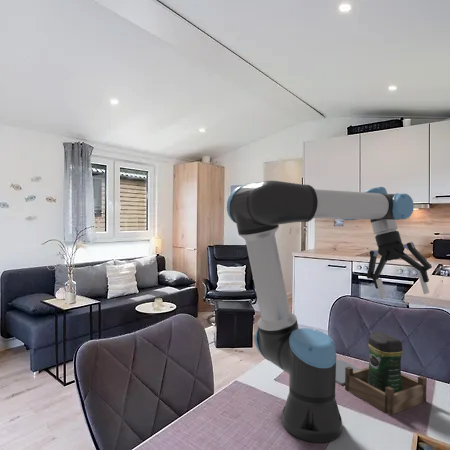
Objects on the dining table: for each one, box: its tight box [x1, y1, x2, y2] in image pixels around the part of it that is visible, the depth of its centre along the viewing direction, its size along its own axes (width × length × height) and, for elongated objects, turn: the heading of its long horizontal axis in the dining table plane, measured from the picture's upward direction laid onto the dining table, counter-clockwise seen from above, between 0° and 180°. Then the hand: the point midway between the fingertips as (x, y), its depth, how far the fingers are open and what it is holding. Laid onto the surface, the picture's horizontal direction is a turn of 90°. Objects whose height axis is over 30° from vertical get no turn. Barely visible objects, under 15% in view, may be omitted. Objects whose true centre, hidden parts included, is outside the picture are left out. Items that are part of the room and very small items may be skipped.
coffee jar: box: [367, 331, 403, 393], centre depth 105 cm, size 10×8×19 cm
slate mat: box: [336, 359, 361, 386], centre depth 121 cm, size 14×14×1 cm
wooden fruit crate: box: [344, 366, 428, 416], centre depth 105 cm, size 16×16×7 cm
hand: (404, 295), depth 112 cm, fingers open, 13 cm apart
